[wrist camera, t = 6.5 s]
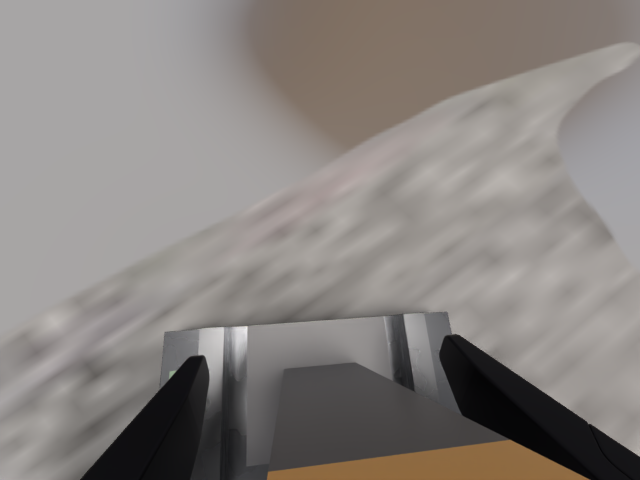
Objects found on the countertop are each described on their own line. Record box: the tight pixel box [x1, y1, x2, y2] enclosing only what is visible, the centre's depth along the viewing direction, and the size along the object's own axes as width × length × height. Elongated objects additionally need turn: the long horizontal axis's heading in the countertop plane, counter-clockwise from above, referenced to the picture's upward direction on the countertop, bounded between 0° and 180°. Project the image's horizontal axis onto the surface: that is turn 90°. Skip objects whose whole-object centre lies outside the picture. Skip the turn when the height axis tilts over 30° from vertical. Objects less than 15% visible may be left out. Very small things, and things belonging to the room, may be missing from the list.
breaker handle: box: [246, 316, 590, 480], centre depth 7 cm, size 5×6×11 cm
